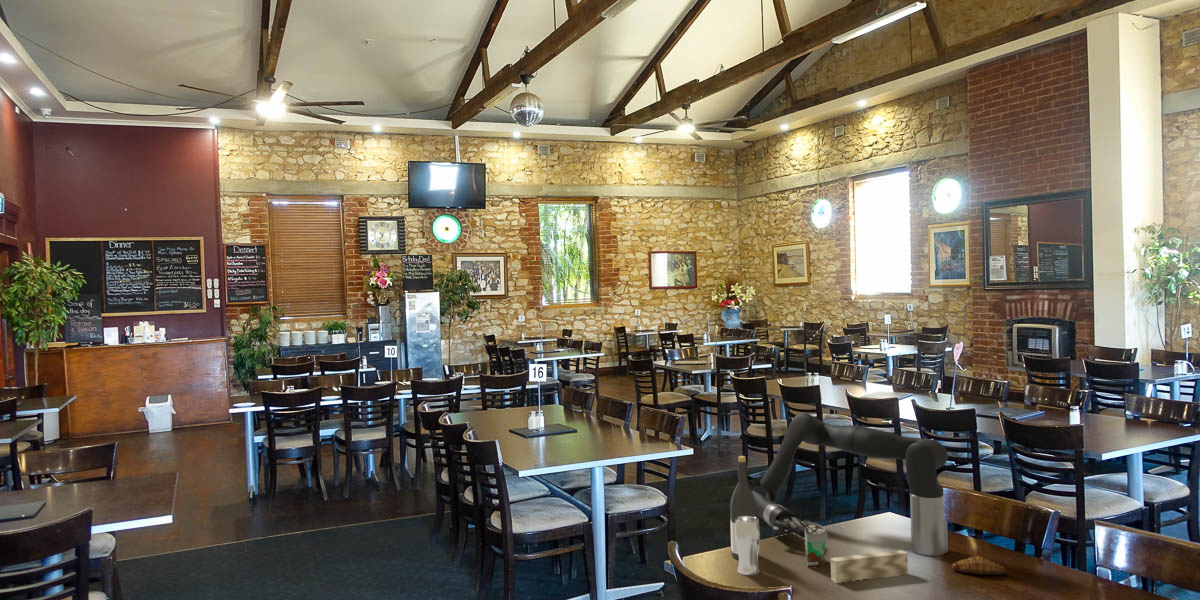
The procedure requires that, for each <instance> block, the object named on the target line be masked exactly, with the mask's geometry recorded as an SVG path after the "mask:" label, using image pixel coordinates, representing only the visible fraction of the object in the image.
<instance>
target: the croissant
mask: <svg viewBox="0 0 1200 600" xmlns="http://www.w3.org/2000/svg"><path fill="white" fill-rule="evenodd" d="M951 569H952V570H953V571H954V572H958V573H961V574H962V573H964V574H971V575H979V576H1001V575H1005V574H1006V567H1005V566H1002V565H1001V564H999V563H996V562H993V560H992V561H991V560H988V559H987V558H985V557H983V556H981V555H975V556H970V557H968V558H966V559H965V558H964V559H961V560H957V561H956V562H953V563H952V566H951Z"/></svg>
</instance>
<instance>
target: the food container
mask: <svg viewBox="0 0 1200 600" xmlns="http://www.w3.org/2000/svg"><path fill="white" fill-rule="evenodd" d="M803 522H804V521H803ZM804 532H805V537H804V552H805V553H804V555H805V556H804V557H805V561H806V566H807V568H808V569H813V567H816V568H820V567H819V566H821V567H822V566H824V565H825V554H826V553H825V551H826V550H825V549H826V540H827V538H828V532H827V529H826V527H824V526H823V525H821V524H818V523H814V522H804ZM823 564H824V565H823Z"/></svg>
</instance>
